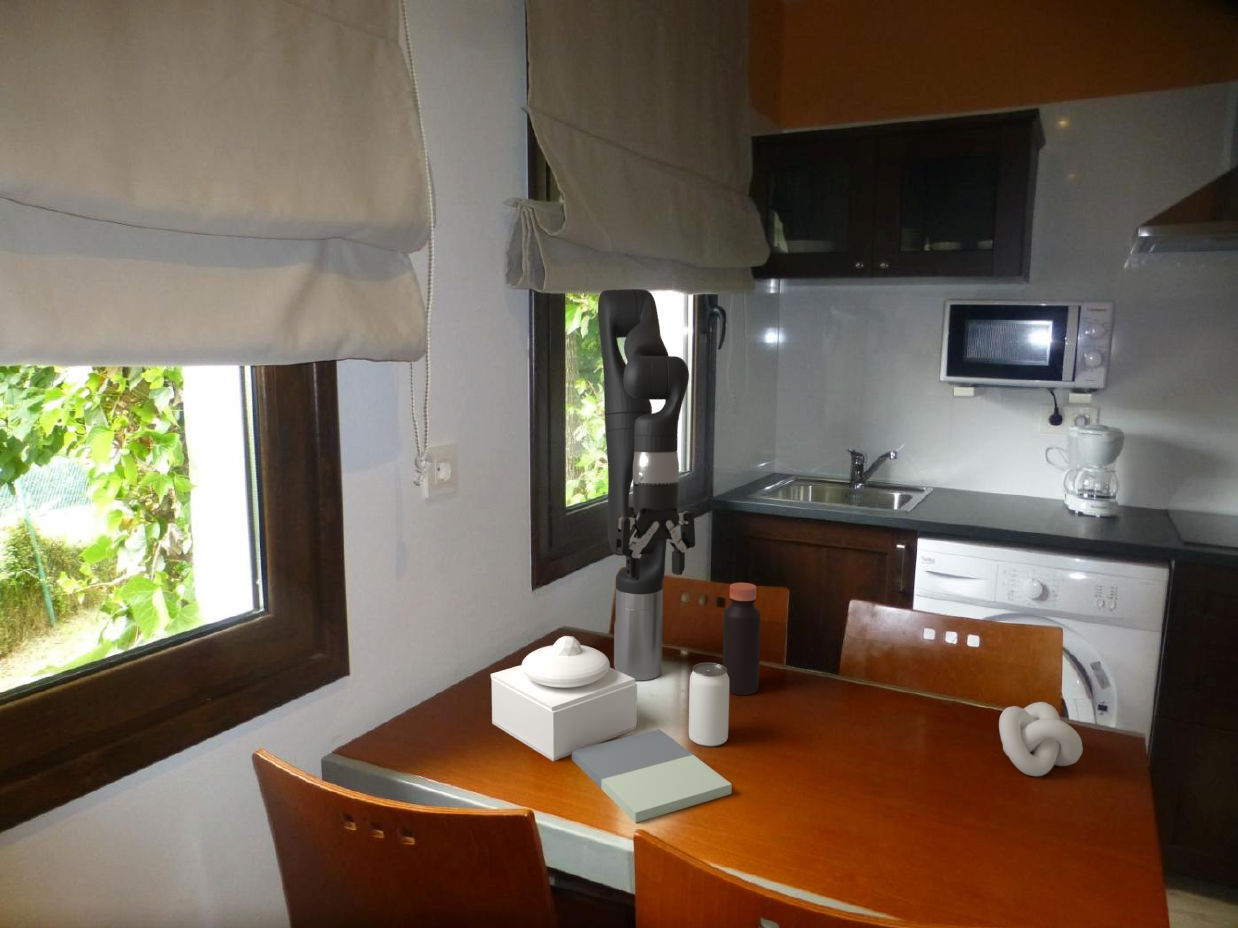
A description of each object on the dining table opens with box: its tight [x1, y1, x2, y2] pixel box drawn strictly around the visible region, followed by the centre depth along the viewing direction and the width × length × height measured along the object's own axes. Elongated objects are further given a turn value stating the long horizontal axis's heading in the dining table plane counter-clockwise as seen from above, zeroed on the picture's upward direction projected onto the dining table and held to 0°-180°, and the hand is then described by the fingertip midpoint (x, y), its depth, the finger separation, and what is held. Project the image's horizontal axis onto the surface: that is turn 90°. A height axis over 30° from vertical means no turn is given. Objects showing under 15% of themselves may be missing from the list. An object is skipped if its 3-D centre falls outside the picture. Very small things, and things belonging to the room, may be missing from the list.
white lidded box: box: [490, 635, 638, 762], centre depth 143 cm, size 18×18×16 cm
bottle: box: [722, 582, 762, 696], centre depth 159 cm, size 7×7×20 cm
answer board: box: [571, 728, 733, 824], centre depth 127 cm, size 20×16×2 cm
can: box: [688, 662, 730, 748], centre depth 139 cm, size 6×6×12 cm
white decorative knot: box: [998, 701, 1084, 777], centre depth 131 cm, size 11×12×9 cm
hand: (655, 577), depth 140 cm, fingers open, 8 cm apart
